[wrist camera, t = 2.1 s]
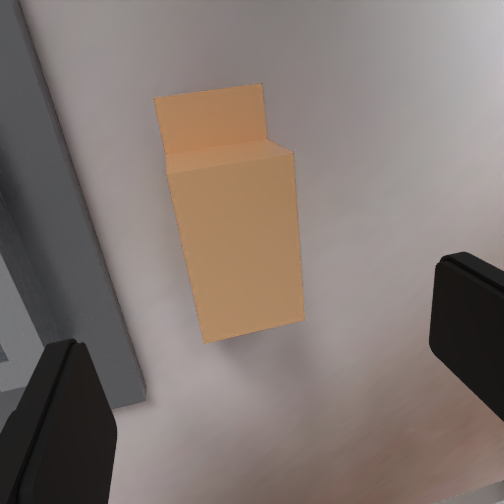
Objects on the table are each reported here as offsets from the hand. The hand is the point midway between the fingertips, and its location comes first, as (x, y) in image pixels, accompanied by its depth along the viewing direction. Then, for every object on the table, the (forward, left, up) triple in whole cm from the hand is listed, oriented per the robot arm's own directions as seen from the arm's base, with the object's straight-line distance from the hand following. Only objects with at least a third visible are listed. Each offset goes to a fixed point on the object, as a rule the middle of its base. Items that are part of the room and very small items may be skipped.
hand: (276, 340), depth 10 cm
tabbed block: (-1, 0, -10) cm, 10 cm away
